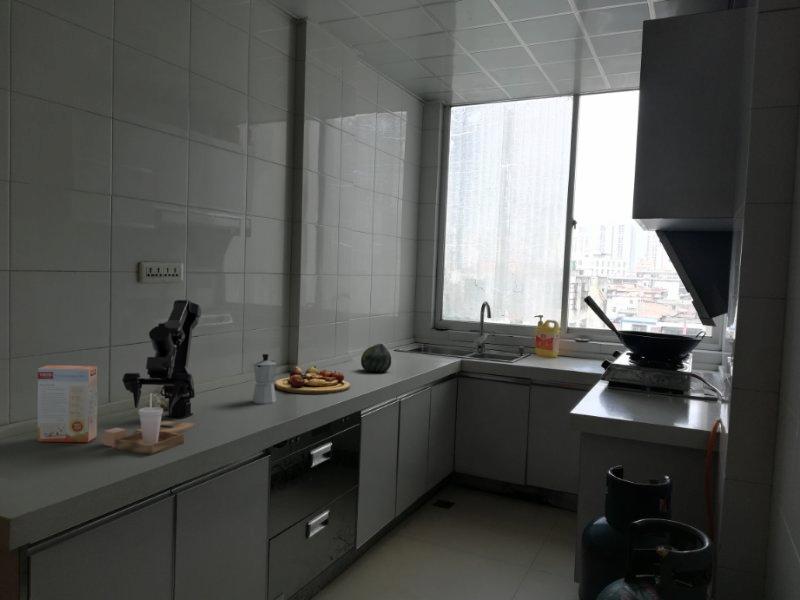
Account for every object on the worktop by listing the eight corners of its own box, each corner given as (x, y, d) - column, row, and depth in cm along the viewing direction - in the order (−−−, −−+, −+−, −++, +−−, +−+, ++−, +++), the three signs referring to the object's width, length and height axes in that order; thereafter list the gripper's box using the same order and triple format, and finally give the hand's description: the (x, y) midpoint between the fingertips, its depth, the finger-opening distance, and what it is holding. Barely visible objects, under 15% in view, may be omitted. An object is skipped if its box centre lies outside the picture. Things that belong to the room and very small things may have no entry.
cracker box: (97, 437, 175) (98, 365, 174) (87, 443, 169) (88, 369, 168) (48, 436, 175) (48, 364, 173) (36, 442, 169) (36, 367, 167)
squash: (357, 357, 310) (363, 338, 300) (385, 358, 314) (392, 339, 305) (361, 380, 300) (367, 360, 290) (390, 380, 305) (397, 361, 295)
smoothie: (161, 439, 173) (162, 391, 173) (163, 445, 168) (164, 395, 167) (137, 441, 171) (137, 392, 170) (138, 448, 165) (139, 397, 164)
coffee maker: (268, 406, 221) (269, 357, 220) (245, 404, 223) (247, 355, 222) (284, 397, 236) (285, 351, 235) (263, 396, 237) (264, 350, 236)
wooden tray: (115, 448, 165) (115, 439, 165) (149, 437, 177) (149, 428, 177) (151, 455, 161) (151, 445, 161) (183, 443, 172) (183, 434, 172)
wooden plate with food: (311, 399, 237) (312, 378, 236) (258, 386, 256) (259, 367, 256) (365, 389, 262) (366, 370, 262) (313, 378, 282) (314, 361, 281)
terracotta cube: (116, 427, 172) (116, 441, 172) (104, 430, 168) (103, 444, 169) (126, 429, 170) (126, 443, 170) (113, 433, 166) (113, 447, 167)
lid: (135, 432, 181) (135, 428, 181) (159, 422, 193) (159, 418, 193) (173, 436, 178) (173, 431, 178) (195, 426, 191) (195, 421, 191)
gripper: (124, 344, 173) (111, 391, 163) (192, 346, 176) (182, 392, 166) (133, 367, 182) (120, 412, 171) (197, 368, 184) (188, 413, 174)
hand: (152, 407), depth 170 cm, fingers open, 9 cm apart
